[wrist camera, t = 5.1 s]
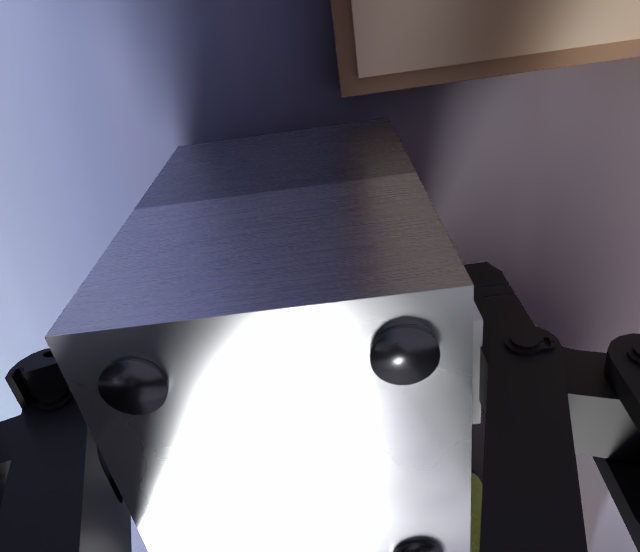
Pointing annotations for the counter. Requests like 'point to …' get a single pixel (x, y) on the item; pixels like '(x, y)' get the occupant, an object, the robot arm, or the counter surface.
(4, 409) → the counter surface
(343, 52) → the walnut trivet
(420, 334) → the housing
